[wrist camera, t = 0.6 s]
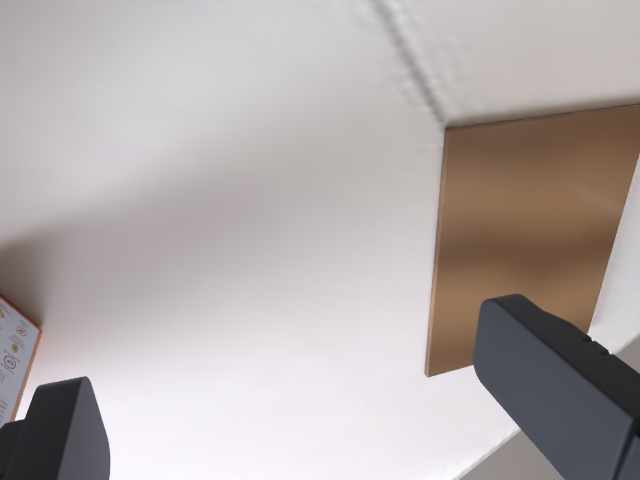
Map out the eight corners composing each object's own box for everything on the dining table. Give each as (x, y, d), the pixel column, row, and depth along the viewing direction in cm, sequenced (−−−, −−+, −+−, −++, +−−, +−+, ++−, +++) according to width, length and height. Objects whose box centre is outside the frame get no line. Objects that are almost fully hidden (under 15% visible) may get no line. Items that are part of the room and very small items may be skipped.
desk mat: (445, 129, 28) (449, 131, 28) (647, 102, 32) (653, 104, 32) (424, 373, 38) (427, 378, 37) (583, 329, 42) (588, 333, 41)
